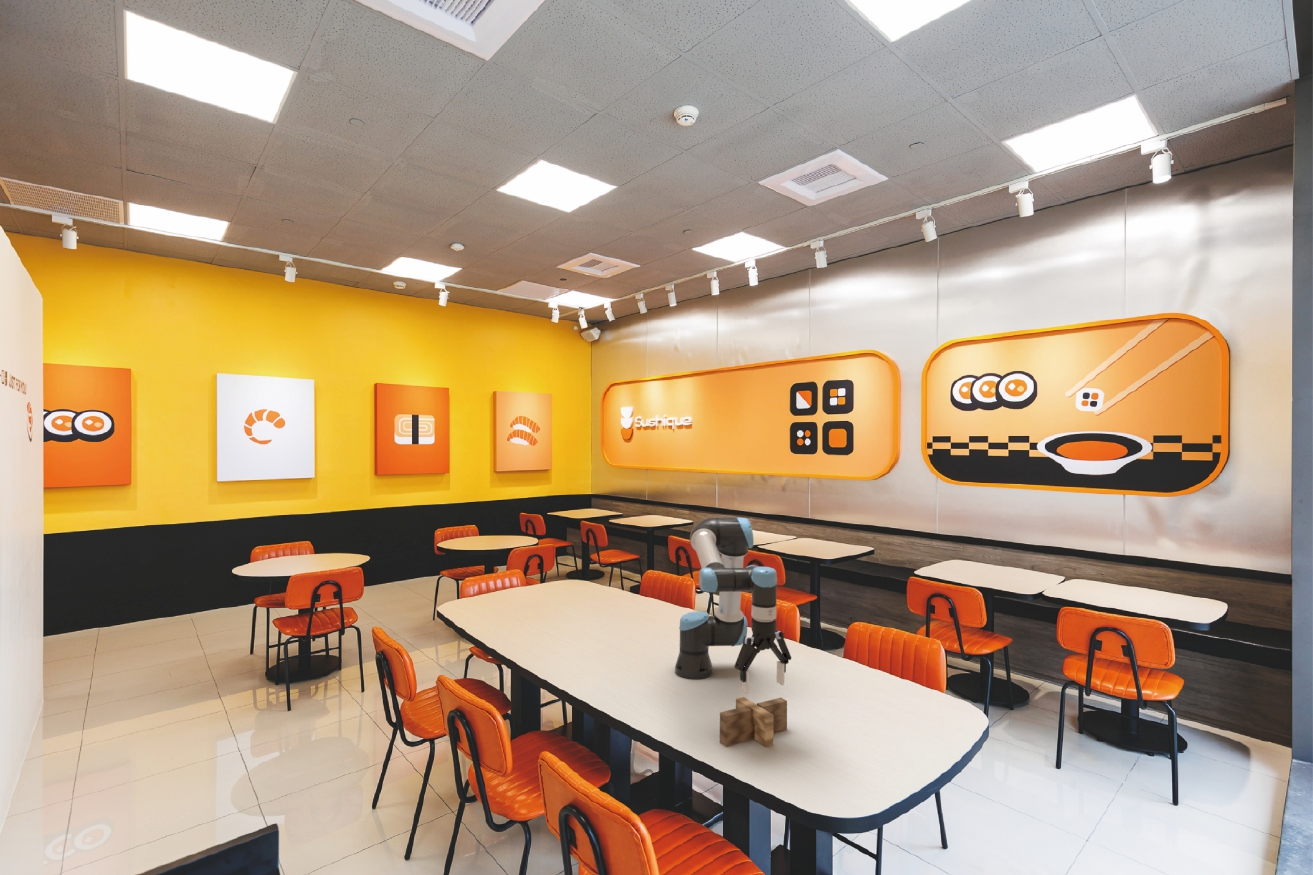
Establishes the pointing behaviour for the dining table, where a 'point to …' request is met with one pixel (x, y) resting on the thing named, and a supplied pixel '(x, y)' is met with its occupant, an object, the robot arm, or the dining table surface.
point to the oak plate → (759, 721)
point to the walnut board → (750, 721)
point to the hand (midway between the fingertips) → (763, 687)
